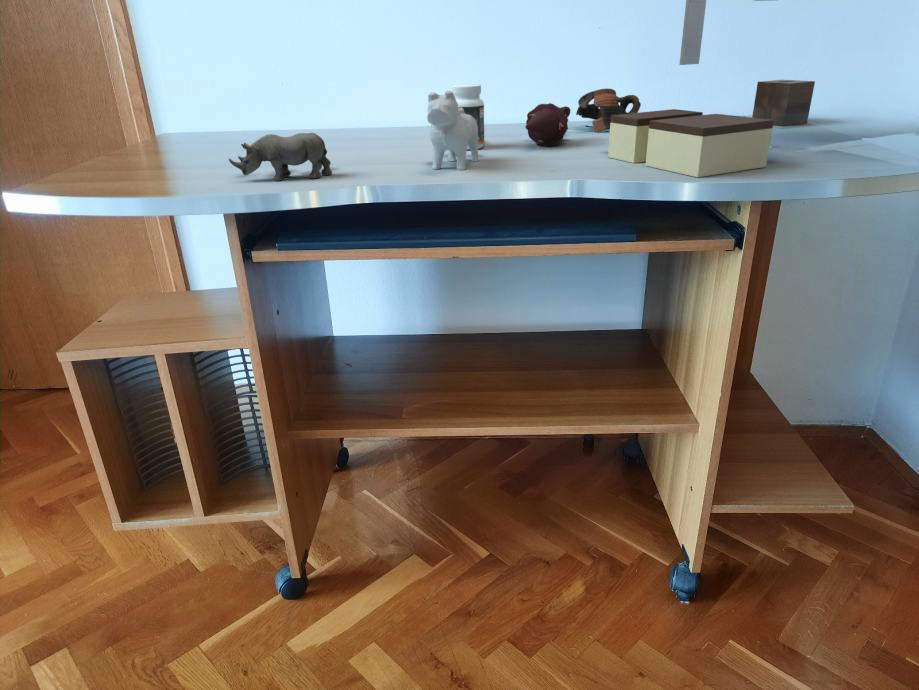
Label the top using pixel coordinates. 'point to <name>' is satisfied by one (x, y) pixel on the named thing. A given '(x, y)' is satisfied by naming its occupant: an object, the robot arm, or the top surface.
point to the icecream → (547, 124)
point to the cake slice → (636, 133)
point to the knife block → (783, 101)
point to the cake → (708, 144)
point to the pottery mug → (605, 107)
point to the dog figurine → (451, 130)
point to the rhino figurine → (285, 154)
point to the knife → (692, 32)
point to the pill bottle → (471, 106)
